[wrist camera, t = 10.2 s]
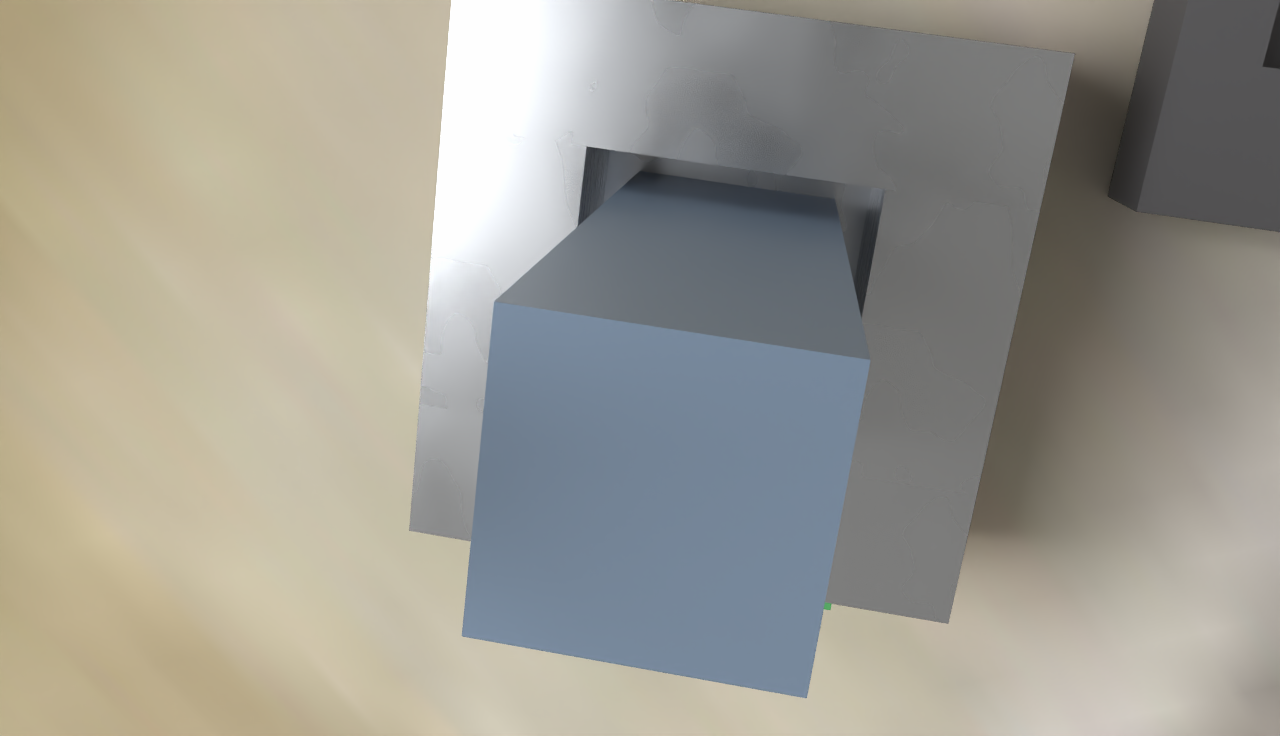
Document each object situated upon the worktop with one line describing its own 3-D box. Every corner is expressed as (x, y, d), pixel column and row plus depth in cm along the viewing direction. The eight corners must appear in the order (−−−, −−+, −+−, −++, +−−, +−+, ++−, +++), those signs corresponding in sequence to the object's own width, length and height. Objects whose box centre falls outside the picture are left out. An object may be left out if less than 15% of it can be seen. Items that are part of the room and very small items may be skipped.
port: (511, -19, 29) (454, -29, 24) (1027, 49, 28) (1074, 53, 23) (465, 480, 32) (407, 559, 27) (919, 556, 31) (942, 652, 26)
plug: (639, 170, 28) (493, 301, 14) (835, 199, 28) (871, 359, 14) (616, 357, 29) (461, 635, 16) (802, 386, 29) (806, 698, 15)
